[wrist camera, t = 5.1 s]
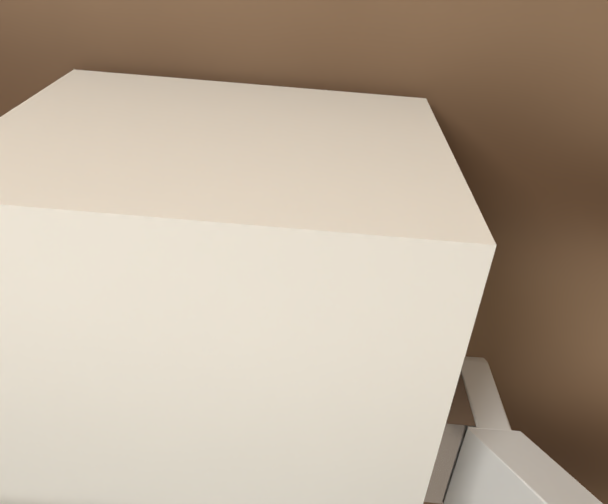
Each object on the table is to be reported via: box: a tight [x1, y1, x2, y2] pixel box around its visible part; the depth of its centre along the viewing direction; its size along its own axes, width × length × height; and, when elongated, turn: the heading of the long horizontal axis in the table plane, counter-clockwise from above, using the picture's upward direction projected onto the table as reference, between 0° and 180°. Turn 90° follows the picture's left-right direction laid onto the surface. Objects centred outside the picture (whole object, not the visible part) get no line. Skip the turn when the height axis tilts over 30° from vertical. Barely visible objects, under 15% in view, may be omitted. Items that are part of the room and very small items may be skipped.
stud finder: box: [0, 69, 496, 504], centre depth 9 cm, size 9×6×5 cm, turn 176°
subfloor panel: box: [0, 0, 608, 504], centre depth 14 cm, size 24×26×3 cm
